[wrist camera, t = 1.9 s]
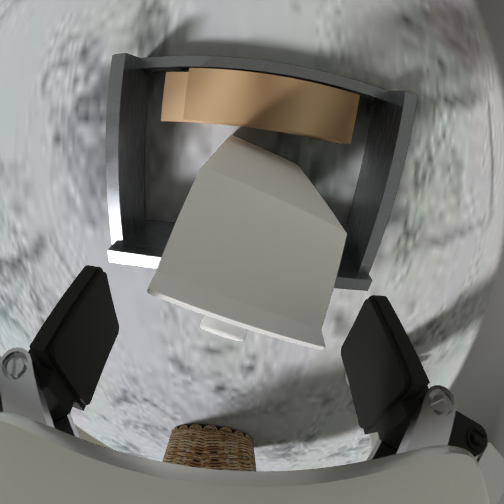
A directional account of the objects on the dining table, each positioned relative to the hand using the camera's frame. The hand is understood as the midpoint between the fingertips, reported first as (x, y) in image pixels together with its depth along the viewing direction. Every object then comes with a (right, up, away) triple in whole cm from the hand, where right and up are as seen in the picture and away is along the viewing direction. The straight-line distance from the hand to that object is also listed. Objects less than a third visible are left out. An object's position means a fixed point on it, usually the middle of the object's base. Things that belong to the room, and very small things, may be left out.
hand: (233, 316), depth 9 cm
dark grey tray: (+1, +11, +15) cm, 19 cm away
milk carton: (0, +9, +17) cm, 19 cm away
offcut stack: (+1, +16, +13) cm, 21 cm away
